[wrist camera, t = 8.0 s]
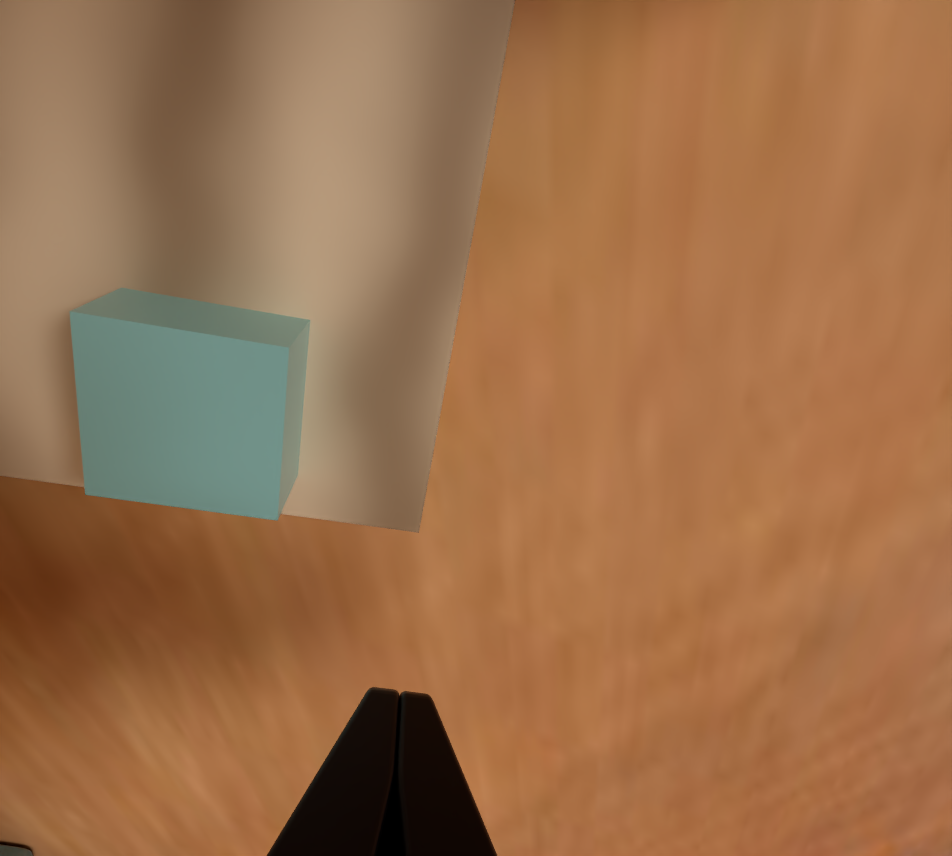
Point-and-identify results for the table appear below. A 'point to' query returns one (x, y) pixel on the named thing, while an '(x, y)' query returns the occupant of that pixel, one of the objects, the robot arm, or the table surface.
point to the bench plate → (250, 208)
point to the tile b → (189, 402)
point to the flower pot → (14, 851)
